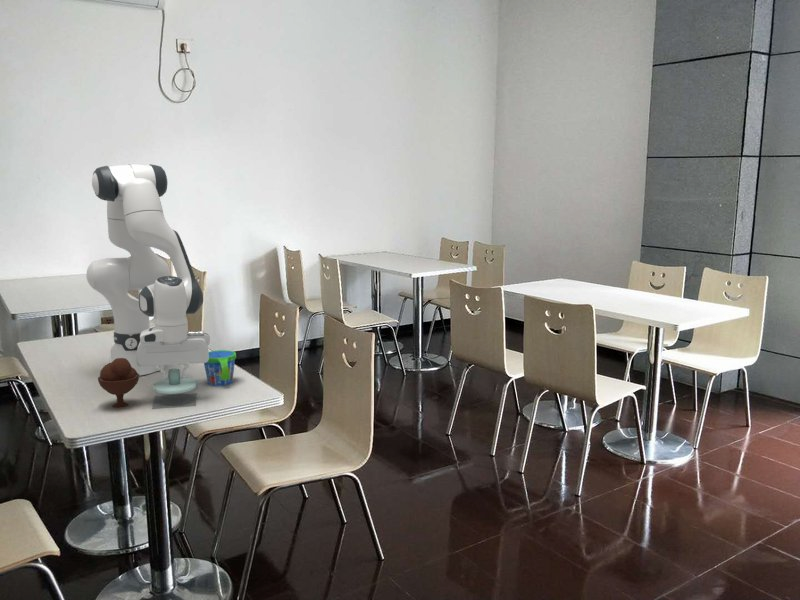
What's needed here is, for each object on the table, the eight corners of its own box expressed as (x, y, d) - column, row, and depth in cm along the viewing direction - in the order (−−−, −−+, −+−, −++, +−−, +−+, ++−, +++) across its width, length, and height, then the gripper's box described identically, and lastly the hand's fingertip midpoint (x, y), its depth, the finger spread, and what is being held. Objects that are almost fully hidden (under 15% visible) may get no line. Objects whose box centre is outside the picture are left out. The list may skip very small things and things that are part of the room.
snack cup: (201, 379, 228) (199, 349, 227) (233, 376, 232) (232, 346, 230) (205, 393, 214) (204, 361, 212) (240, 389, 218) (239, 358, 216)
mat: (155, 398, 209) (155, 395, 209) (197, 395, 212) (196, 393, 212) (152, 411, 197) (151, 408, 197) (196, 408, 200) (195, 405, 200)
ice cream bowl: (145, 401, 206) (142, 352, 203) (132, 414, 195) (129, 362, 192) (109, 401, 206) (106, 352, 203) (94, 414, 195) (90, 362, 192)
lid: (154, 382, 209) (153, 365, 208) (196, 379, 212) (195, 363, 211) (151, 395, 197) (150, 377, 196) (195, 392, 201) (195, 375, 199)
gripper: (209, 328, 207) (210, 372, 210) (136, 331, 202) (139, 377, 204) (209, 333, 201) (211, 379, 204) (134, 337, 196) (137, 384, 198)
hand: (174, 378), depth 204 cm, fingers closed on lid, 3 cm apart
